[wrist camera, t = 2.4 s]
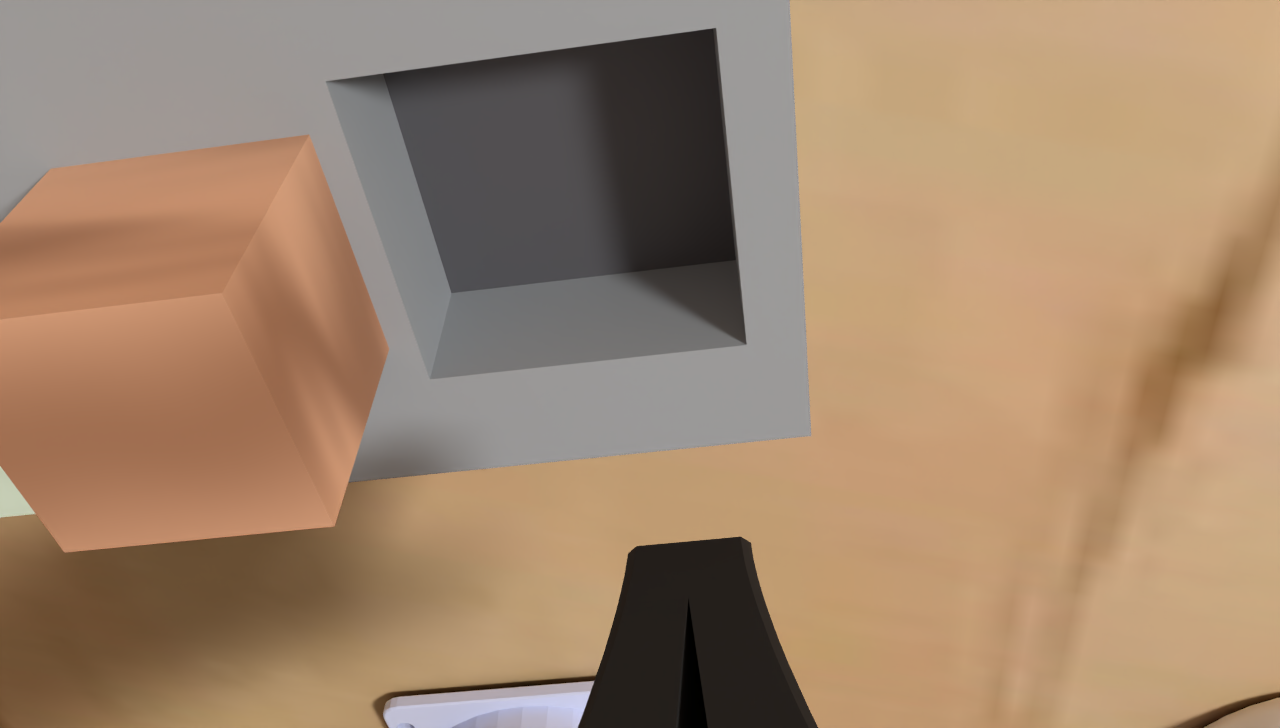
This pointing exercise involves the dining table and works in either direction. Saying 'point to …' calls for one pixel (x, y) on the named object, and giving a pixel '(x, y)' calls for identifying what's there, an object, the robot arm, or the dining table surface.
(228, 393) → the block
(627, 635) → the robot arm
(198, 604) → the dining table surface
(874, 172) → the dining table surface
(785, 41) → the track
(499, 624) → the dining table surface
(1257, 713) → the milk bottle
